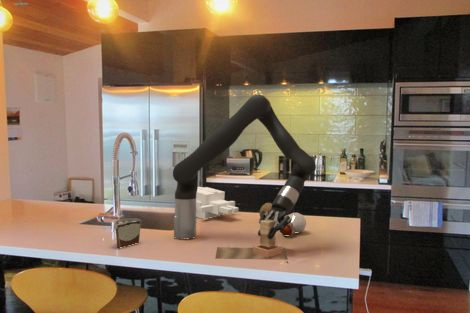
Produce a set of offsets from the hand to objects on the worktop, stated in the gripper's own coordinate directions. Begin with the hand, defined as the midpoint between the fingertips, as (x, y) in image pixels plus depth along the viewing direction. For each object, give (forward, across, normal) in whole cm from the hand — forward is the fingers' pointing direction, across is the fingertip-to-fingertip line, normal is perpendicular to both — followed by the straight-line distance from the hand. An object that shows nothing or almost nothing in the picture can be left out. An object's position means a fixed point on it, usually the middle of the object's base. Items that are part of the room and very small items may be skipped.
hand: (264, 236), depth 159 cm
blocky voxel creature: (-17, -65, +29) cm, 73 cm away
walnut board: (+8, -4, +4) cm, 10 cm away
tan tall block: (+1, 0, +4) cm, 4 cm away
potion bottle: (-19, -15, +32) cm, 40 cm away
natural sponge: (-26, -38, +38) cm, 60 cm away
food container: (+26, -50, -14) cm, 58 cm away
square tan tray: (+3, 0, +6) cm, 7 cm away
